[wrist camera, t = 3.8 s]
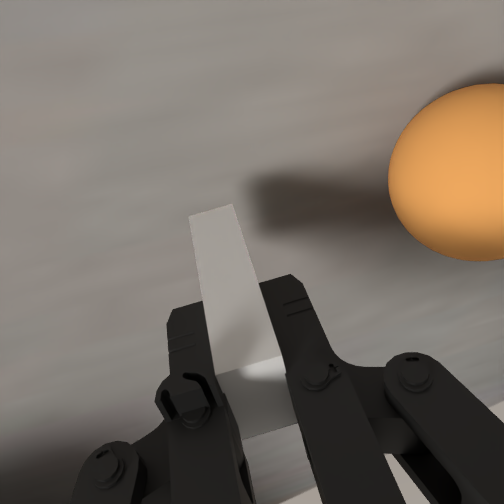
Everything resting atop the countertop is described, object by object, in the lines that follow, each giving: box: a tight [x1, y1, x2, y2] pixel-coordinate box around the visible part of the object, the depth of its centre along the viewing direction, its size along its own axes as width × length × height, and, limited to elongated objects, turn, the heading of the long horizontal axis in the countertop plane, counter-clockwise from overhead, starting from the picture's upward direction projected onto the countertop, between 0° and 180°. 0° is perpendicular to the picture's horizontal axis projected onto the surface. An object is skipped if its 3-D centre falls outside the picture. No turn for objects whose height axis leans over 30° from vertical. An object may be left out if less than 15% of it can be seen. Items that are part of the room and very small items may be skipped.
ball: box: [388, 83, 504, 261], centre depth 16 cm, size 6×6×6 cm
